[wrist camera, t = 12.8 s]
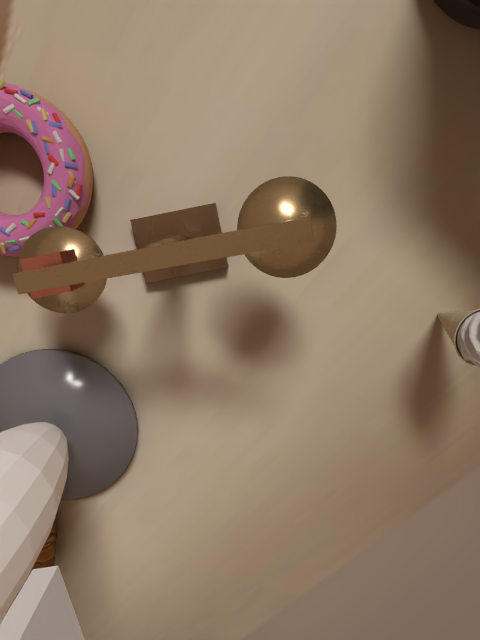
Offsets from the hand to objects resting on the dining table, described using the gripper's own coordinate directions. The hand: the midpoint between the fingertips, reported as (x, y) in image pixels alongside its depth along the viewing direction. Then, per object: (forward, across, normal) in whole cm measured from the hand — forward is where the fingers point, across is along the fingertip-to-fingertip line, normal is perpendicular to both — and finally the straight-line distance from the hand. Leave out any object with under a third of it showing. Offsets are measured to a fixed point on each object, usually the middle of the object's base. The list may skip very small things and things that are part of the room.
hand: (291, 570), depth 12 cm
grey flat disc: (+31, -23, -8) cm, 40 cm away
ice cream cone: (+33, +18, -4) cm, 38 cm away
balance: (+32, -6, +8) cm, 33 cm away
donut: (+32, -19, +16) cm, 41 cm away
